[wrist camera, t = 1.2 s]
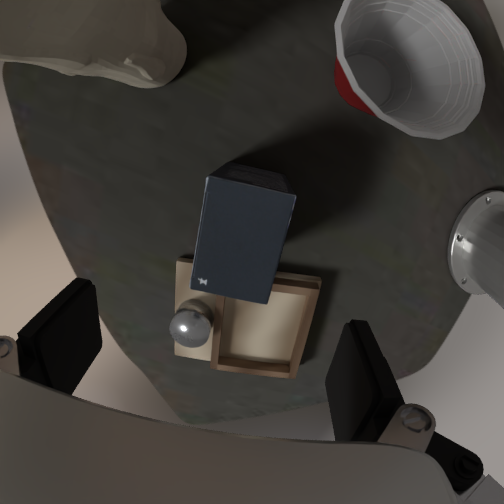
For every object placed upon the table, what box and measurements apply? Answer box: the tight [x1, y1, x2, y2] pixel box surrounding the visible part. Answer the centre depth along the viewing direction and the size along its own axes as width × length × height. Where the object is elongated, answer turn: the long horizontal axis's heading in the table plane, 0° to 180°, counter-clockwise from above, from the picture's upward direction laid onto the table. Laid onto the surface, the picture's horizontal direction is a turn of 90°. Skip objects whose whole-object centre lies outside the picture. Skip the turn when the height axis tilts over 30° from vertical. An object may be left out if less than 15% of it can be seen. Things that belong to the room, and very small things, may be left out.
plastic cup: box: [334, 0, 485, 140], centre depth 19 cm, size 11×11×12 cm
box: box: [189, 162, 296, 305], centre depth 25 cm, size 8×6×11 cm
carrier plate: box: [170, 257, 322, 379], centre depth 32 cm, size 14×12×4 cm
